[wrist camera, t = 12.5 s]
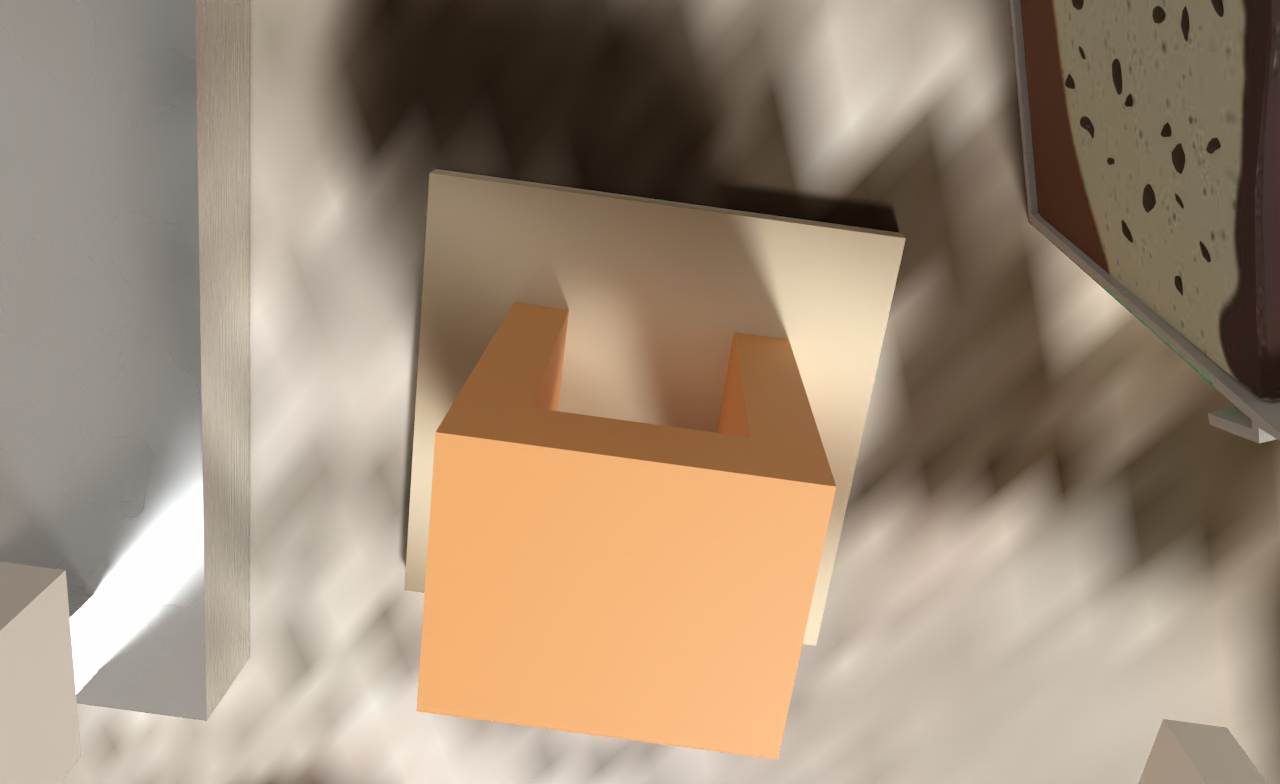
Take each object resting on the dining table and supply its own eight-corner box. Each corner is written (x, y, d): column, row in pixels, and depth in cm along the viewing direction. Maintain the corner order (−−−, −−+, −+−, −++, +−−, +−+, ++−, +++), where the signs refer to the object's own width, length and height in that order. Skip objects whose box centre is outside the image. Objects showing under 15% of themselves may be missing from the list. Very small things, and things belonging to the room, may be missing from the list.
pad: (435, 169, 22) (429, 173, 22) (900, 232, 22) (905, 238, 22) (410, 577, 26) (404, 589, 25) (813, 631, 26) (815, 645, 25)
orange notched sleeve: (514, 302, 22) (435, 432, 15) (789, 339, 22) (836, 486, 15) (495, 508, 24) (416, 711, 17) (750, 543, 24) (777, 759, 17)
